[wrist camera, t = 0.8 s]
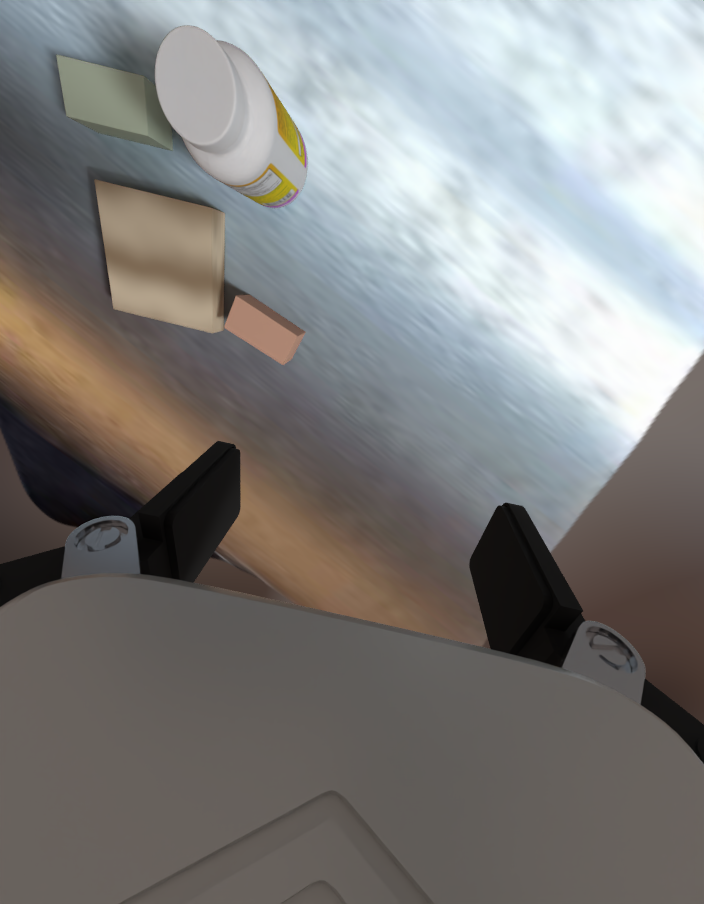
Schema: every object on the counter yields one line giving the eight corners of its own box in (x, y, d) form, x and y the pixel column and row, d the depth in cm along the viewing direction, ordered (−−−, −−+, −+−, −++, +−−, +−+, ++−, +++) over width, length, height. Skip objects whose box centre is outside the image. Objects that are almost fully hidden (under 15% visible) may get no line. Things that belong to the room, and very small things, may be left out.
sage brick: (101, 134, 29) (66, 116, 26) (93, 80, 27) (56, 54, 24) (174, 151, 29) (148, 136, 26) (171, 99, 27) (143, 75, 24)
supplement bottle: (253, 94, 26) (149, -47, 15) (322, 144, 27) (272, 47, 16) (228, 183, 30) (126, 122, 18) (291, 225, 31) (230, 191, 19)
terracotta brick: (238, 323, 36) (223, 327, 33) (250, 294, 34) (236, 295, 31) (292, 358, 37) (283, 365, 34) (306, 331, 35) (297, 336, 32)
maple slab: (115, 186, 31) (94, 179, 29) (224, 213, 31) (211, 207, 28) (130, 307, 36) (113, 309, 34) (223, 330, 36) (212, 333, 34)
